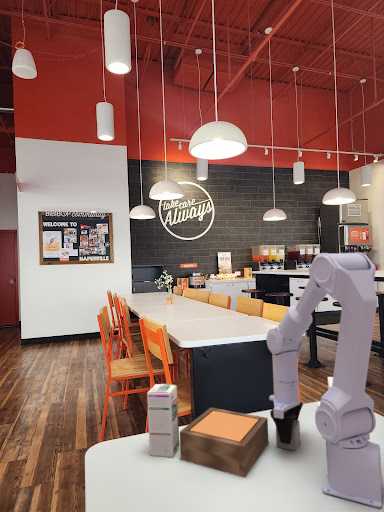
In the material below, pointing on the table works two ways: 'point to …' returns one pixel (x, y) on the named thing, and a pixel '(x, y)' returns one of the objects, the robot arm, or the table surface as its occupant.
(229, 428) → the orange flap
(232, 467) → the wooden box
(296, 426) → the gray block
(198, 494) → the table surface
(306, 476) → the table surface
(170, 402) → the syrup box
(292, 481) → the table surface
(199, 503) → the table surface
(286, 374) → the robot arm
